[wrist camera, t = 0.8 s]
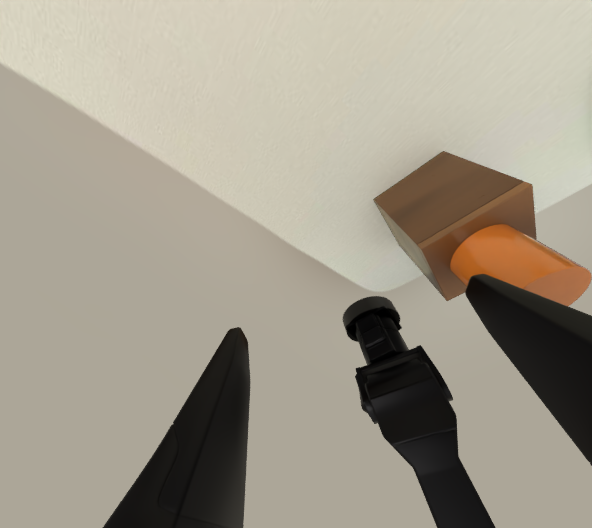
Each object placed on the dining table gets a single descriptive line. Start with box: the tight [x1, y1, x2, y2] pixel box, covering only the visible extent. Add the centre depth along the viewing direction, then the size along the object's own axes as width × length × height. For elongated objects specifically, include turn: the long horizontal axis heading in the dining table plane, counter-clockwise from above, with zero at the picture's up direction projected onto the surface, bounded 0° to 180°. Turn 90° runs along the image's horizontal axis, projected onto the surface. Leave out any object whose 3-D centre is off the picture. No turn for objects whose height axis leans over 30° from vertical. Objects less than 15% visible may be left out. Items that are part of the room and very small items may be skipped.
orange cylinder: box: [450, 224, 591, 306], centre depth 13 cm, size 4×4×4 cm
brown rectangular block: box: [374, 151, 536, 301], centre depth 17 cm, size 6×6×8 cm
